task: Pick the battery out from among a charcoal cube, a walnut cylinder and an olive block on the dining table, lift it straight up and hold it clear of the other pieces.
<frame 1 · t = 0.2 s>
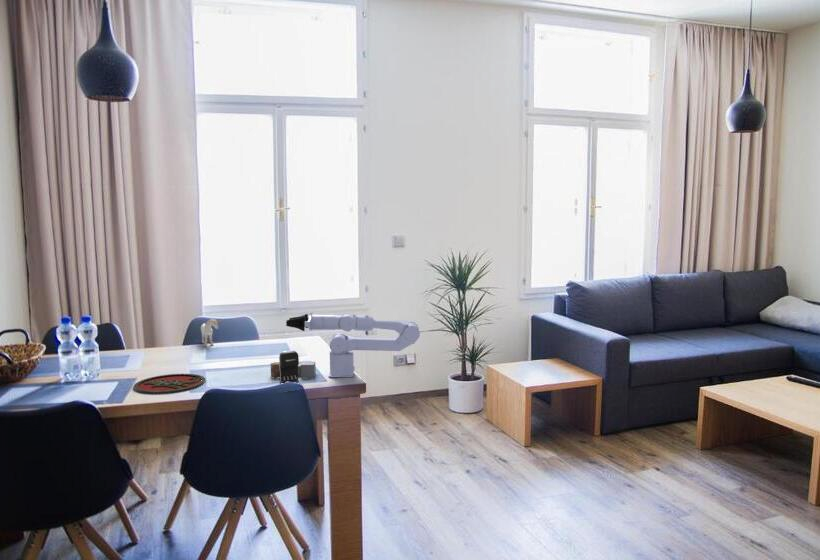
hand: (287, 322, 238), 21 cm above the table, tool horizontal, fingers open, 7 cm apart
unicorn figurine: (214, 344, 300), on the table
walnut cylinder: (277, 376, 240), on the table
decorative plate: (170, 385, 230), on the table
charcoal cube: (308, 375, 241), on the table
battery: (289, 381, 233), on the table
olive block: (293, 374, 242), on the table
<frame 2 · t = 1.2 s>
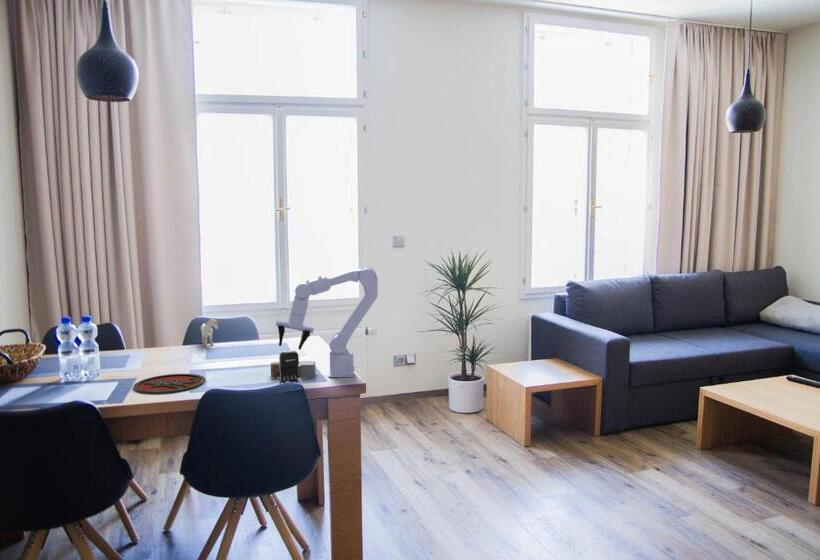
hand: (289, 347, 239), 11 cm above the table, tool pointing down, fingers open, 7 cm apart
nothing on the table moved.
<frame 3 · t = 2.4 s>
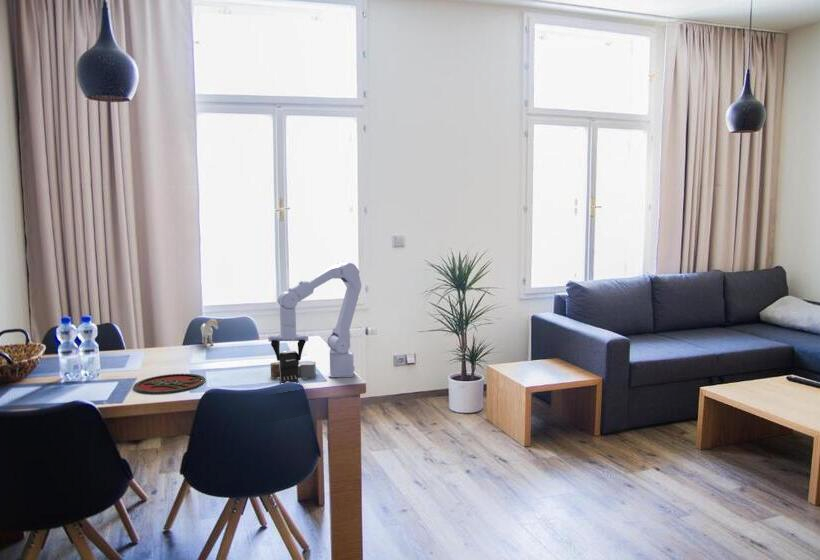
hand: (289, 360, 232), 8 cm above the table, tool pointing down, fingers open, 7 cm apart
battery: (289, 381, 233), on the table, touching gripper
everything else where it was.
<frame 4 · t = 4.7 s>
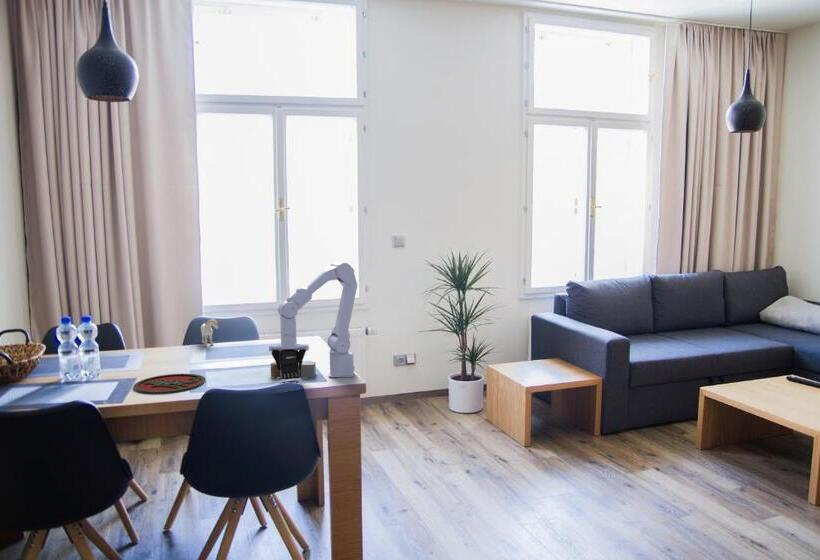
hand: (289, 369, 232), 5 cm above the table, tool pointing down, fingers closed on battery, 7 cm apart
battery: (290, 379, 232), point 1 cm above the table, touching gripper
everything else where it was.
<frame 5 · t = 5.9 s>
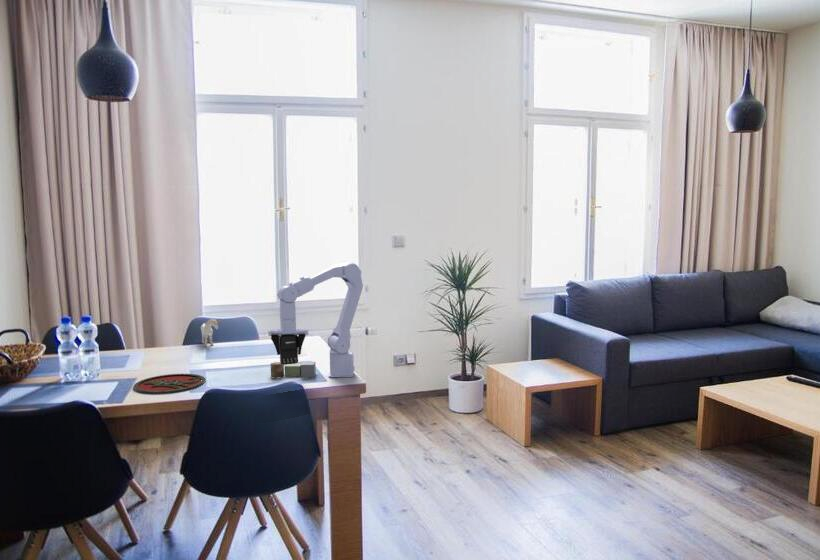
hand: (289, 354, 231), 10 cm above the table, tool pointing down, fingers closed on battery, 7 cm apart
battery: (289, 364, 232), point 6 cm above the table, touching gripper
everything else where it was.
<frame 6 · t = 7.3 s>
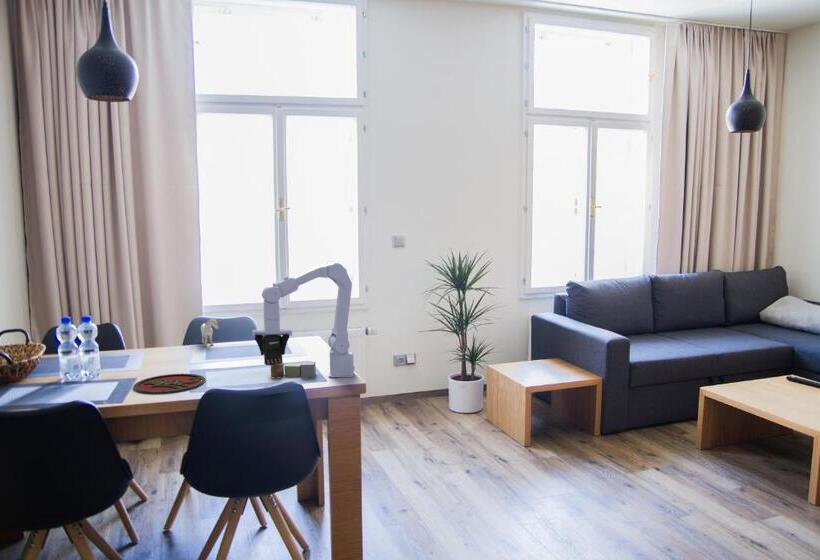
hand: (273, 354, 231), 10 cm above the table, tool pointing down, fingers closed on battery, 7 cm apart
battery: (274, 364, 232), point 6 cm above the table, touching gripper
everything else where it was.
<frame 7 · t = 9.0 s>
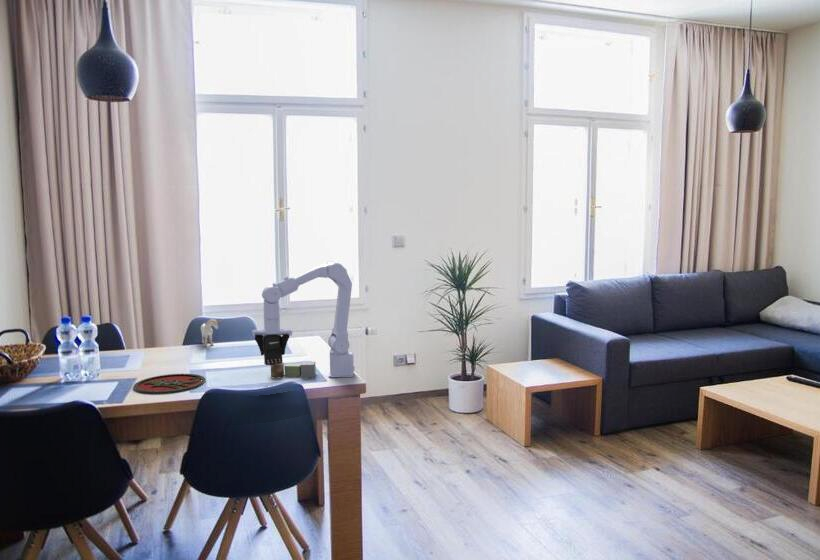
hand: (273, 354, 231), 10 cm above the table, tool pointing down, fingers closed on battery, 7 cm apart
battery: (274, 364, 232), point 6 cm above the table, touching gripper
everything else where it was.
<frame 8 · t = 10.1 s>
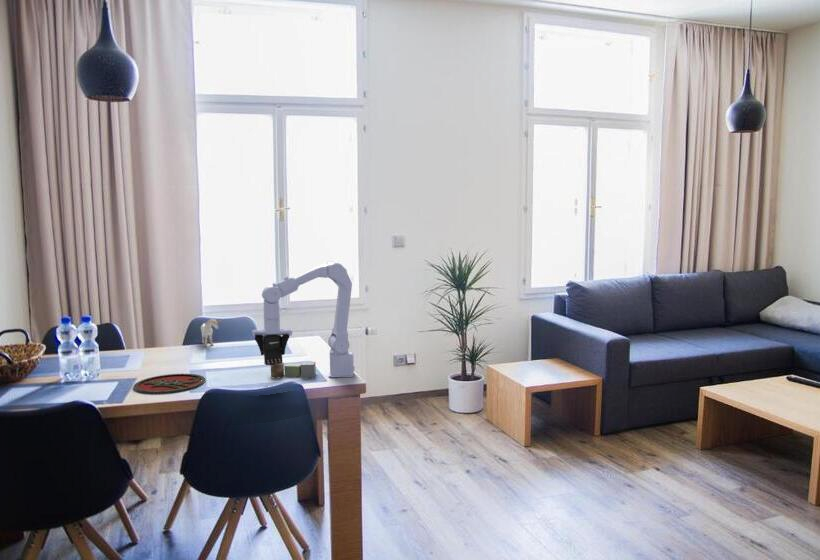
hand: (273, 354, 231), 10 cm above the table, tool pointing down, fingers closed on battery, 7 cm apart
battery: (274, 364, 232), point 6 cm above the table, touching gripper
everything else where it was.
at the end: the gripper is holding battery; battery point 6.4 cm above the table; walnut cylinder moved 0.1 cm from its start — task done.
